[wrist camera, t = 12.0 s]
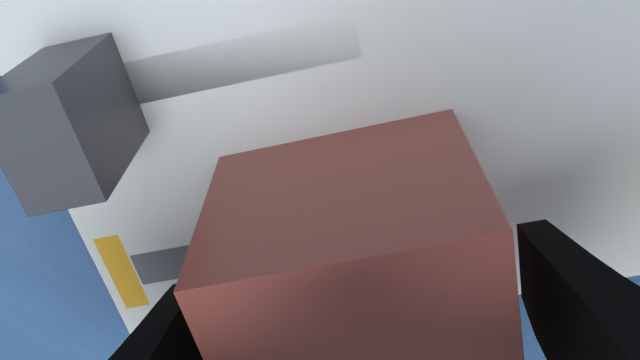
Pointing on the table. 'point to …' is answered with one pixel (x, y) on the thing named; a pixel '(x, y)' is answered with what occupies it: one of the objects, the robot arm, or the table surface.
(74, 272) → the table surface
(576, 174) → the breaker panel
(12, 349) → the table surface
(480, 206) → the reddish pink block
